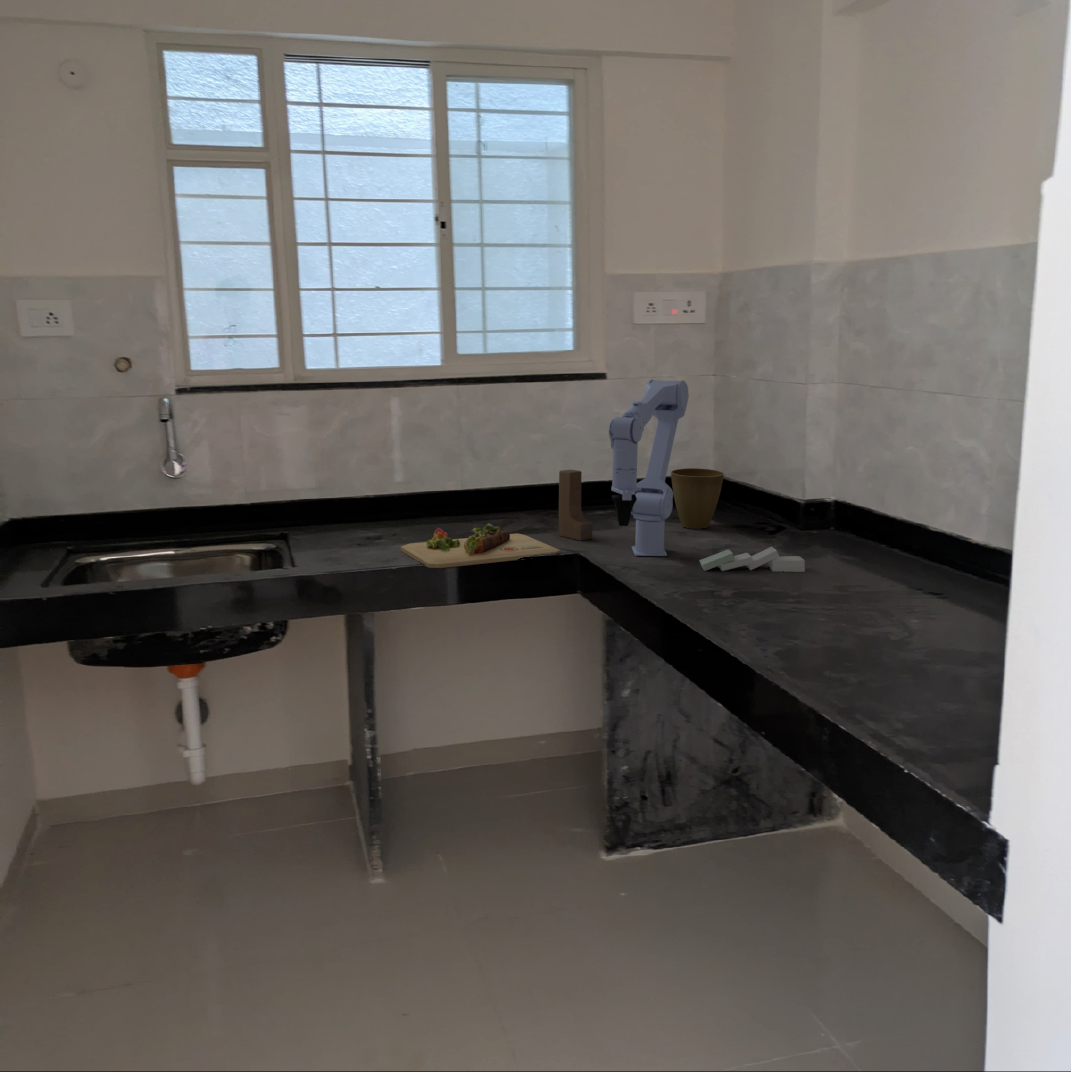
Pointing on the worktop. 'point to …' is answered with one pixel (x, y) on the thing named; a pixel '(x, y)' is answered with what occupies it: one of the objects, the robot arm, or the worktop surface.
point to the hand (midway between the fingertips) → (623, 525)
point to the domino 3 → (763, 557)
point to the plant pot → (696, 495)
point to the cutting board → (475, 548)
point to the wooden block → (572, 507)
